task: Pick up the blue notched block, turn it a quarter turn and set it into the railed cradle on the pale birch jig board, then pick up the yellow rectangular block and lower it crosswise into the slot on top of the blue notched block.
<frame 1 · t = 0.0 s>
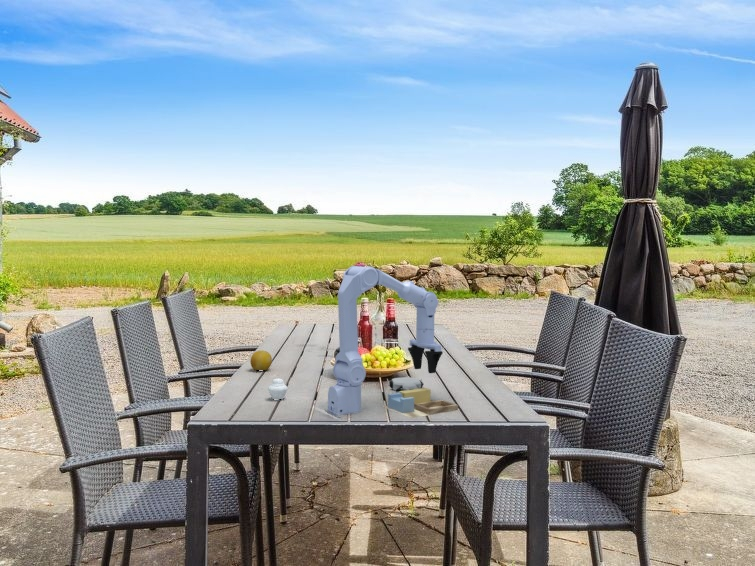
hand: (424, 370, 202), 10 cm above the table, tool pointing down, fingers open, 7 cm apart
fruit: (261, 371, 251), on the table
jig: (420, 411, 190), on the table
yellow rectangular block: (414, 403, 196), point 1 cm above the table, touching jig
robot toy: (407, 395, 213), on the table
white lidded jar: (277, 399, 204), on the table
blue notched block: (400, 409, 189), point 1 cm above the table, touching jig
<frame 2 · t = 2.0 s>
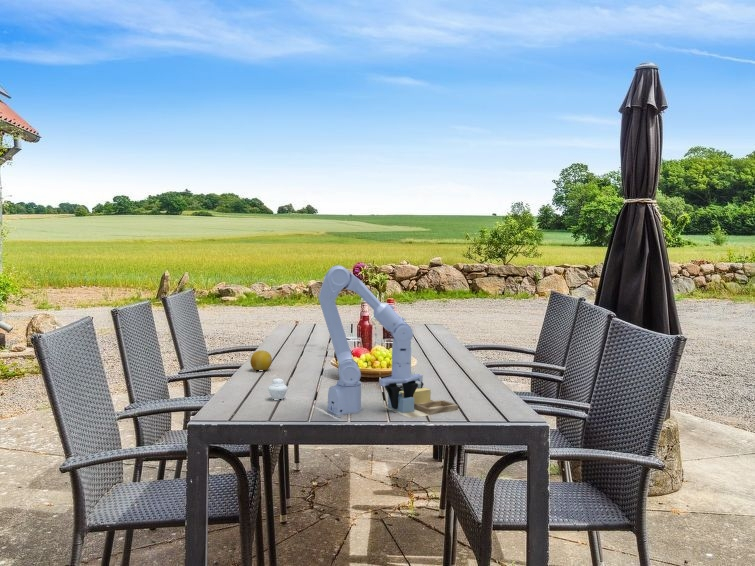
hand: (400, 407, 189), 2 cm above the table, tool pointing down, fingers closed on blue notched block, 4 cm apart
blue notched block: (400, 409, 189), point 1 cm above the table, touching gripper, jig
everything else where it was.
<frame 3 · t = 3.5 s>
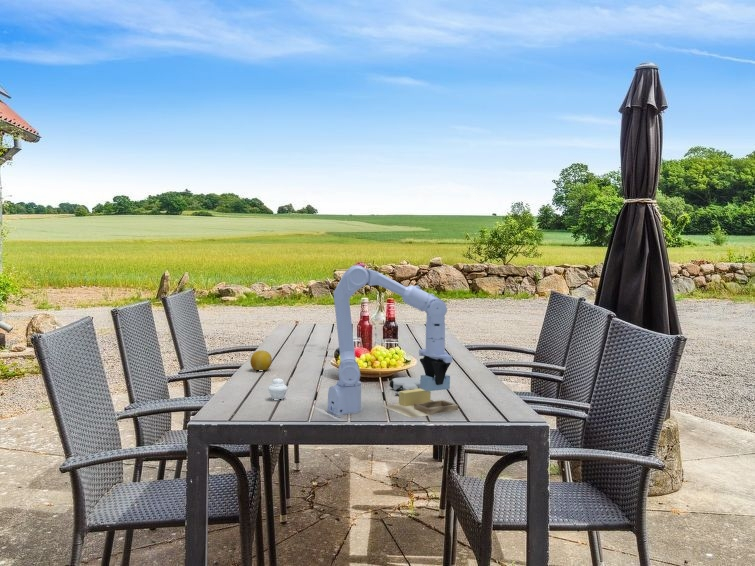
hand: (434, 383, 188), 9 cm above the table, tool pointing down, fingers closed on blue notched block, 4 cm apart
blue notched block: (434, 388, 189), point 7 cm above the table, touching gripper
everything else where it was.
when the fingers open (3 cm above the table, at t = 5.1 s): blue notched block stays where it is, resting on jig.
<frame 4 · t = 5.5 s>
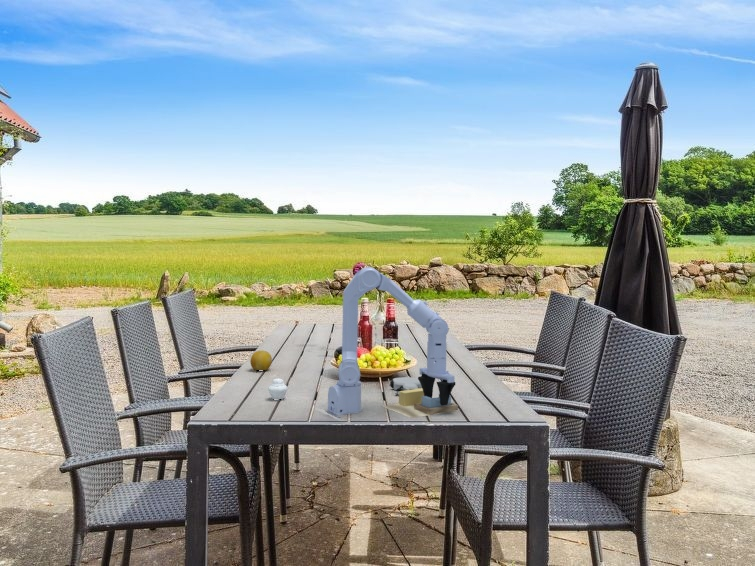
hand: (436, 402, 189), 3 cm above the table, tool pointing down, fingers open, 7 cm apart
blue notched block: (436, 409, 189), point 1 cm above the table, touching jig
everything else where it was.
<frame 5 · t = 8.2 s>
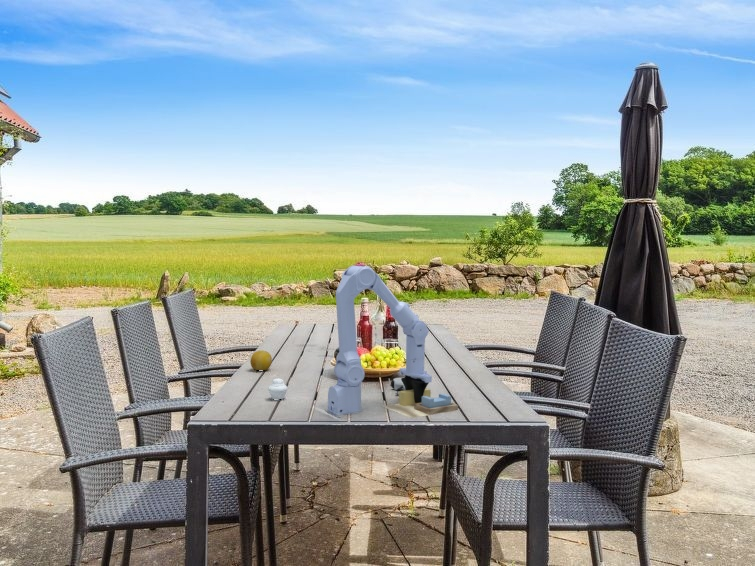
hand: (414, 401, 196), 2 cm above the table, tool pointing down, fingers closed on yellow rectangular block, 3 cm apart
yellow rectangular block: (414, 403, 196), point 1 cm above the table, touching gripper, jig
everything else where it was.
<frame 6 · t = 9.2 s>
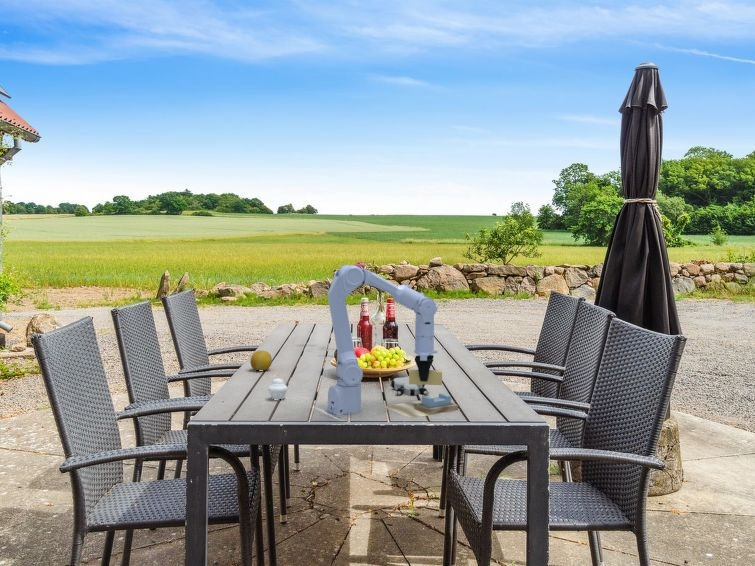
hand: (424, 380, 193), 9 cm above the table, tool pointing down, fingers closed on yellow rectangular block, 3 cm apart
yellow rectangular block: (425, 383, 193), point 8 cm above the table, touching gripper
everything else where it was.
when the fingers open (5 cm above the table, at t = 10.6 s): yellow rectangular block stays where it is, resting on blue notched block.
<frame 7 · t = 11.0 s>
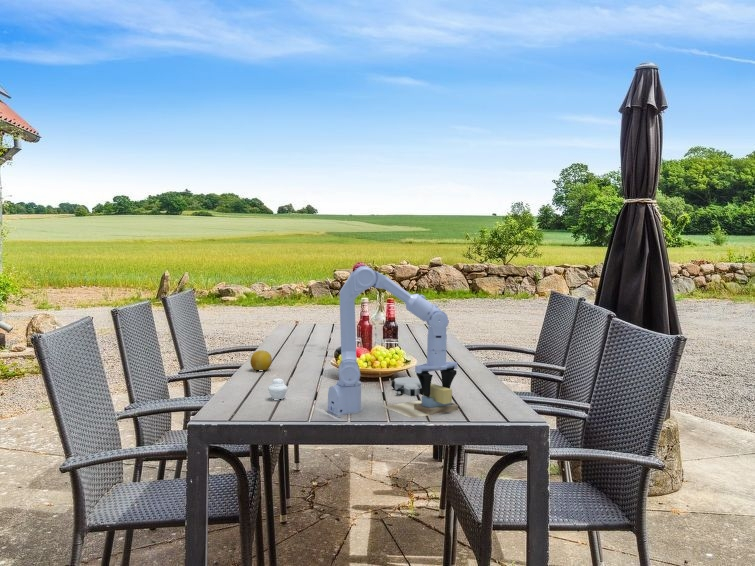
hand: (436, 394, 189), 6 cm above the table, tool pointing down, fingers open, 7 cm apart
yellow rectangular block: (437, 399, 188), point 4 cm above the table, touching blue notched block
blue notched block: (436, 409, 189), point 1 cm above the table, touching jig, yellow rectangular block
everything else where it was.
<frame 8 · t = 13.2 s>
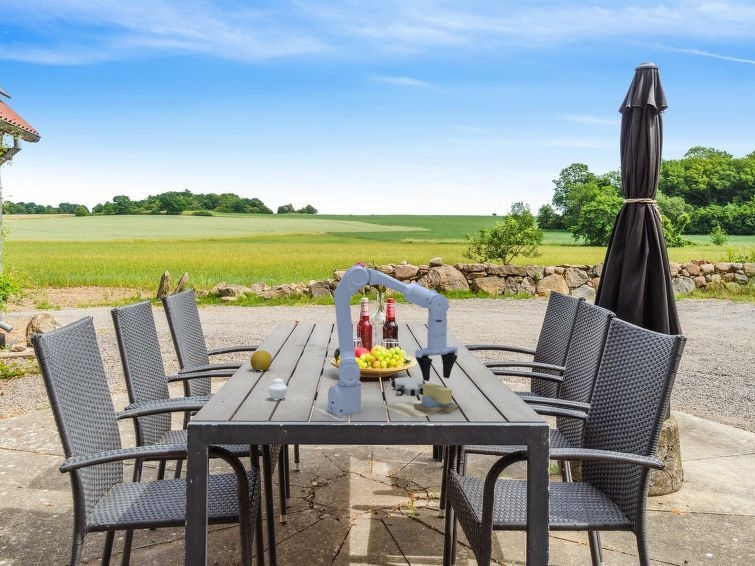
hand: (436, 379, 188), 10 cm above the table, tool pointing down, fingers open, 7 cm apart
nothing on the table moved.
at the end: blue notched block 0.1 cm from the target spot on the jig, point 1.0 cm above the jig's base; yellow rectangular block 0.5 cm off-centre on the blue notched block, point 3.0 cm above the blue notched block's base; yellow rectangular block tilted 0° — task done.
